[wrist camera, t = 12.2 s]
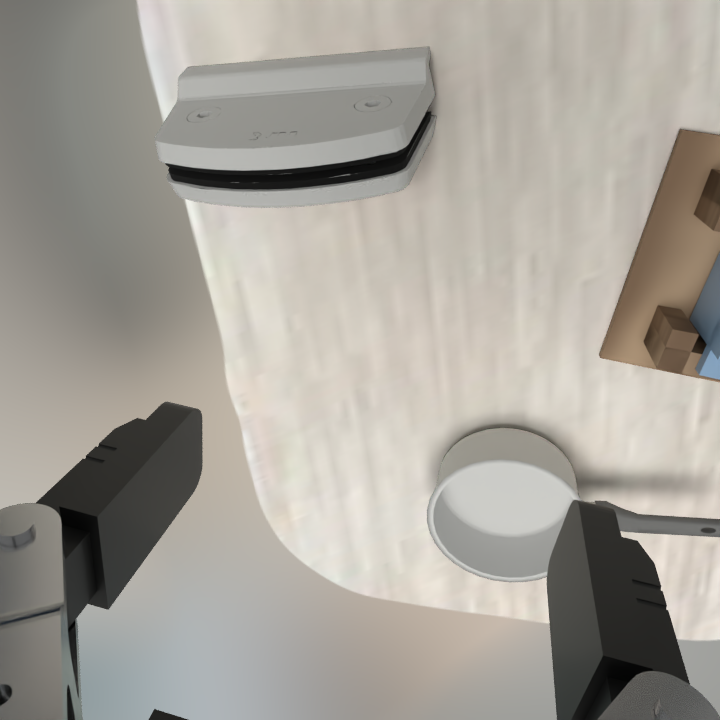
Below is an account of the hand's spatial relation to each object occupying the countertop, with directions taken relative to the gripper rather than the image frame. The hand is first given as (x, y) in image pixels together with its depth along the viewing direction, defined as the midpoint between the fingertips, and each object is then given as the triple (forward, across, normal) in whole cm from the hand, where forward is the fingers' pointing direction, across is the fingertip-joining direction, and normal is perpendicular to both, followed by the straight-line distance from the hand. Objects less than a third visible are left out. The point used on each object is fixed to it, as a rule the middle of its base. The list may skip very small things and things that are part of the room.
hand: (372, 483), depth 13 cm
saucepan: (+30, -12, +20) cm, 38 cm away
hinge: (+30, +11, -3) cm, 33 cm away
